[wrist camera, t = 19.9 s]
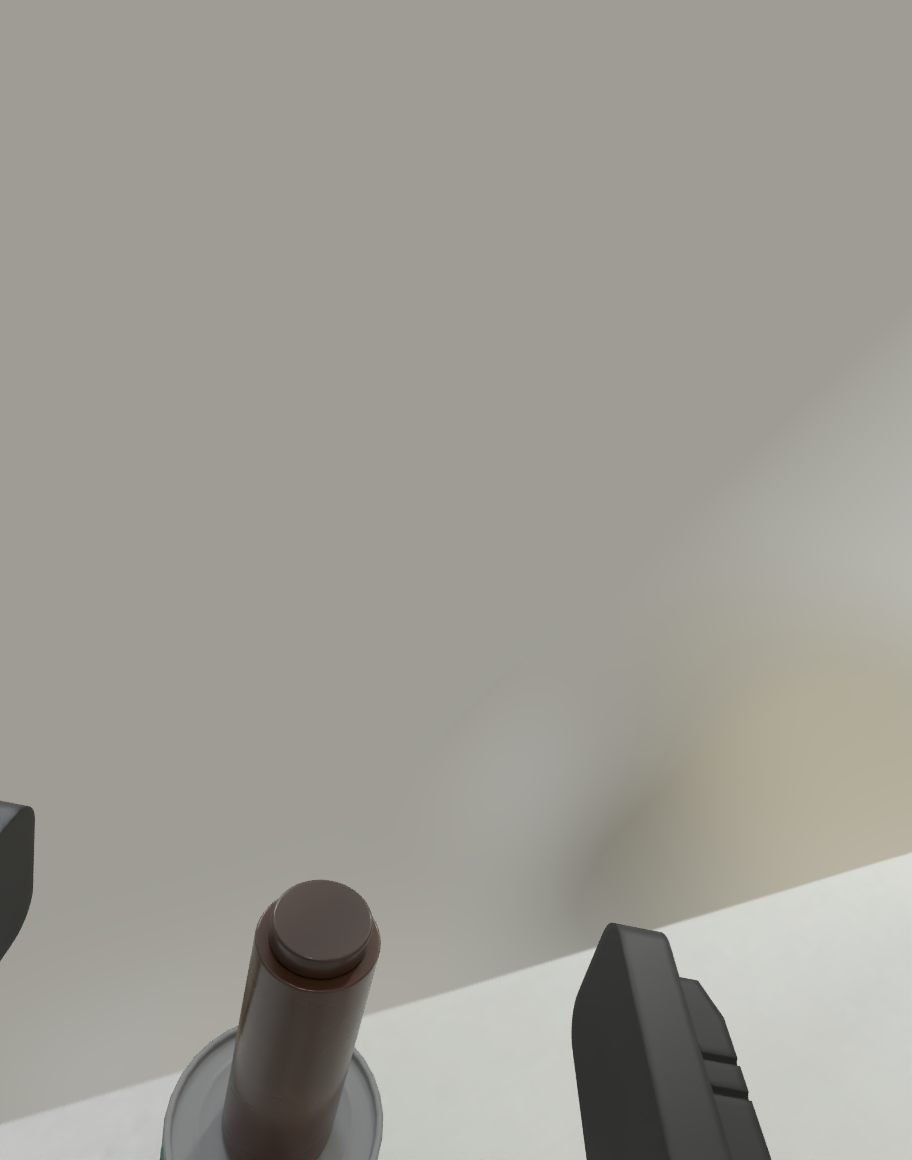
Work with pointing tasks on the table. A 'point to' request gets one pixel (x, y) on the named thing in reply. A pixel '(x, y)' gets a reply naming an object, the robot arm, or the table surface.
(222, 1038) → the canned tomato
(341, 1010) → the pepper mill
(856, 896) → the table surface
